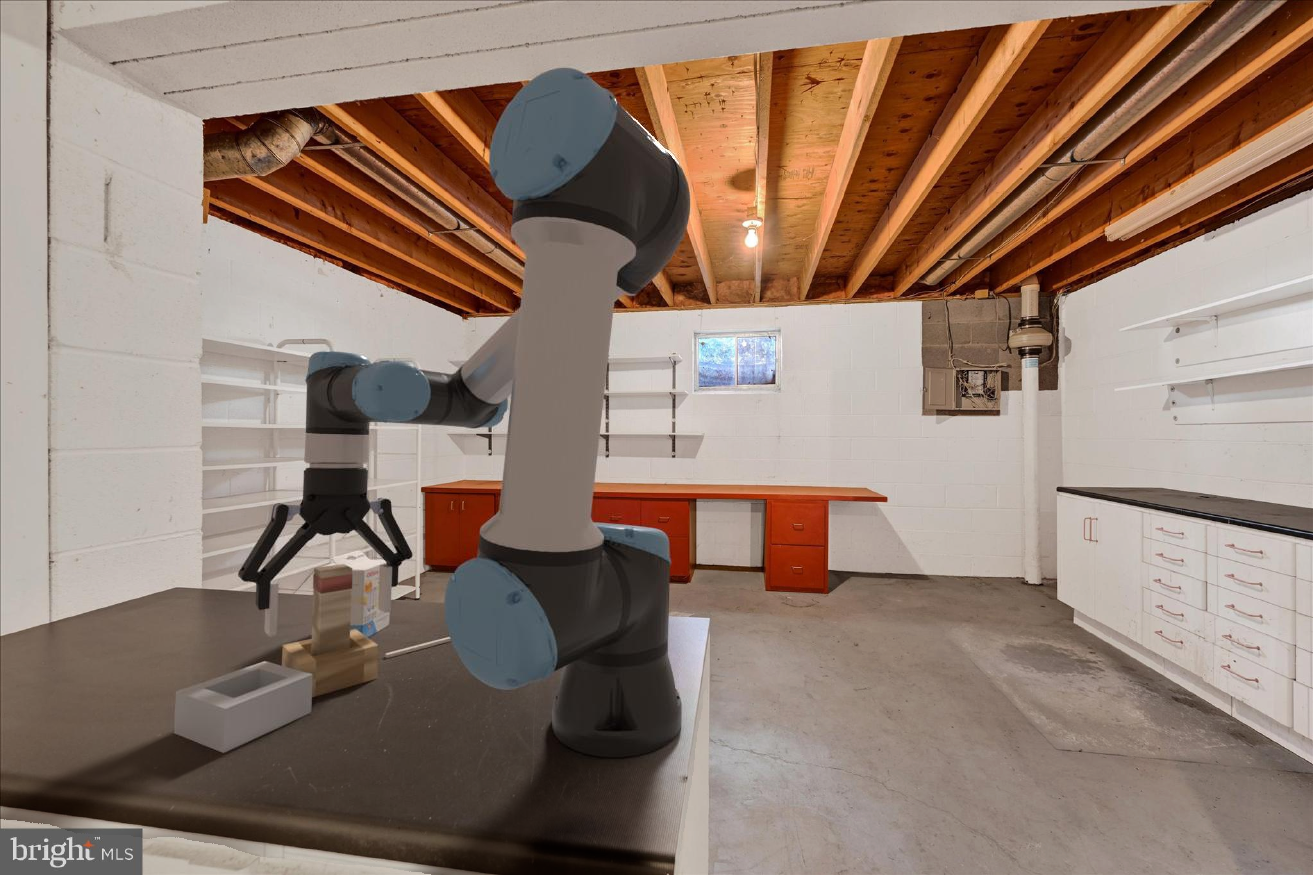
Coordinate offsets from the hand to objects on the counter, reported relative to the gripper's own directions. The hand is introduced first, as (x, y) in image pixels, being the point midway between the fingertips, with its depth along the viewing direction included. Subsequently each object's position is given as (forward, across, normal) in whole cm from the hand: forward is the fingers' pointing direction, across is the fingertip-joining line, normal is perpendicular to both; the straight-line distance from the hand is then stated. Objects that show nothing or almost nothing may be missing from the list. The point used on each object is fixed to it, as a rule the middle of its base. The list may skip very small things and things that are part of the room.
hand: (331, 621), depth 70 cm
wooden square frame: (+8, 0, 0) cm, 8 cm away
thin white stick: (+8, -13, -2) cm, 15 cm away
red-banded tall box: (+8, 0, 0) cm, 8 cm away
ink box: (+8, -8, -17) cm, 20 cm away
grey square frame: (+8, +10, +6) cm, 14 cm away
